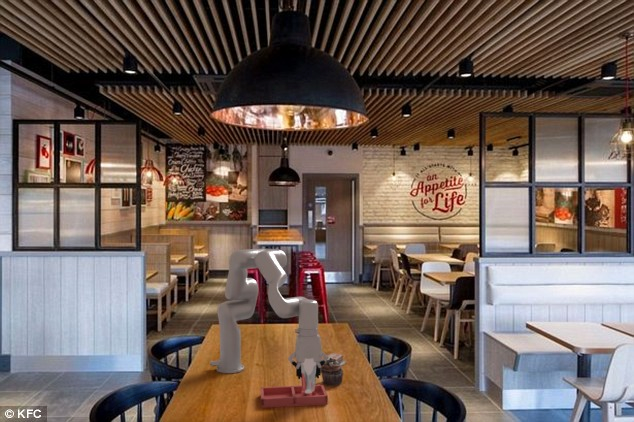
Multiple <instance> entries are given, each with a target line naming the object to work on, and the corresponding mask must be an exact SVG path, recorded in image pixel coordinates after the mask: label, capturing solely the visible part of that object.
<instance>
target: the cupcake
mask: <svg viewBox="0 0 634 422" xmlns="http://www.w3.org/2000/svg"><path fill="white" fill-rule="evenodd" d="M342 368H343V366H341V365H340V364H339V363H338V362H337V361H336V359H332V358H330V359H329V360H327V361H326V362H325V363H324V364H323V365H322V367H321V372H320V374H321V377H322V383H323V385H325V384H326V386H332V387H333V386H340V385H341V384H342V383H343V376H344V370H343V369H342Z"/></svg>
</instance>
